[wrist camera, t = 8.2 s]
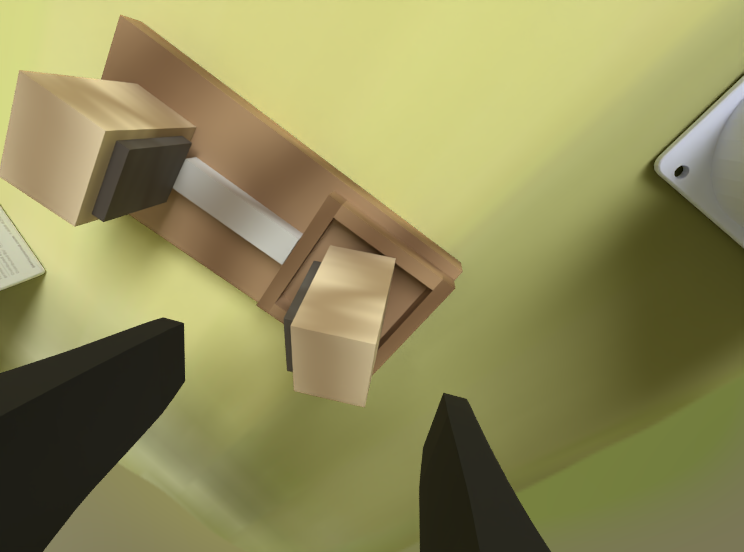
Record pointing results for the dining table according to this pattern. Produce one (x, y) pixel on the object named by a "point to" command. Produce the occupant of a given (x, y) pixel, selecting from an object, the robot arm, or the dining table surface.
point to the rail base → (208, 179)
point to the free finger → (338, 324)
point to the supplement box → (15, 256)
